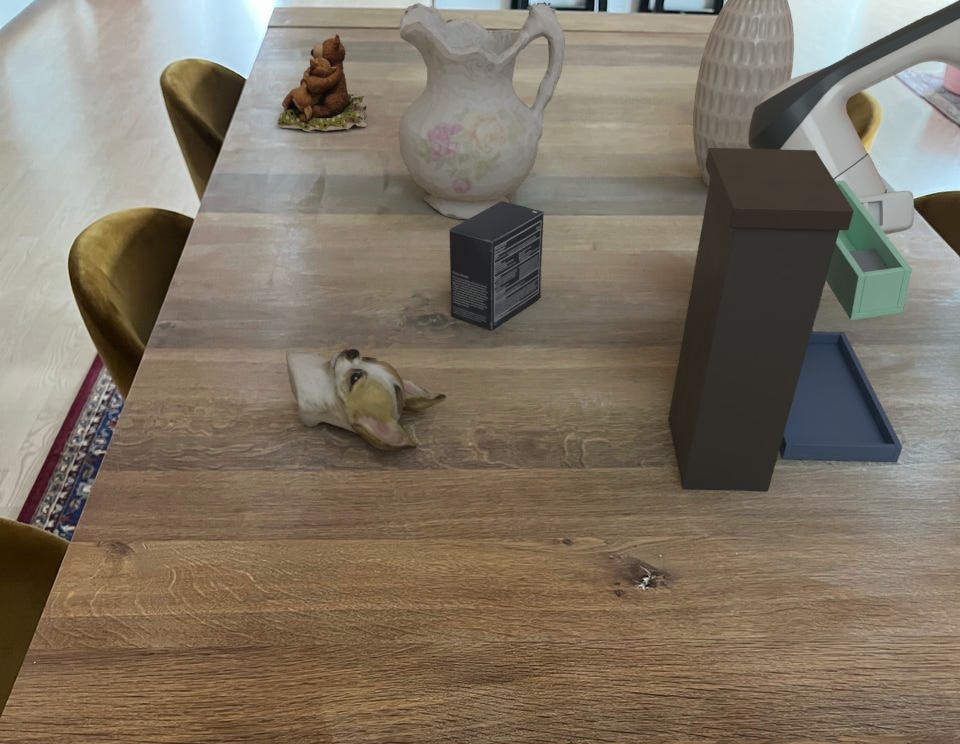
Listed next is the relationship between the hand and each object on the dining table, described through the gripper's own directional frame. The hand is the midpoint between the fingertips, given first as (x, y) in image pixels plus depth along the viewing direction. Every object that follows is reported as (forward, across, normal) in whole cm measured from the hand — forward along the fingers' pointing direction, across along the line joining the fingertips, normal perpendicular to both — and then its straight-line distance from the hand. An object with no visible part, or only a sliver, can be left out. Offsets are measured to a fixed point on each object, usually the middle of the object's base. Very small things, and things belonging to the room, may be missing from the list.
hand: (829, 216), depth 91 cm
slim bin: (+3, 0, -5) cm, 6 cm away
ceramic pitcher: (-53, +32, +12) cm, 63 cm away
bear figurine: (-84, +56, +32) cm, 106 cm away
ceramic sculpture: (-1, +47, -14) cm, 49 cm away
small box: (-24, +32, -4) cm, 40 cm away
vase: (-62, -5, +10) cm, 63 cm away
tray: (-7, 0, -17) cm, 19 cm away
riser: (+2, +12, -20) cm, 24 cm away
